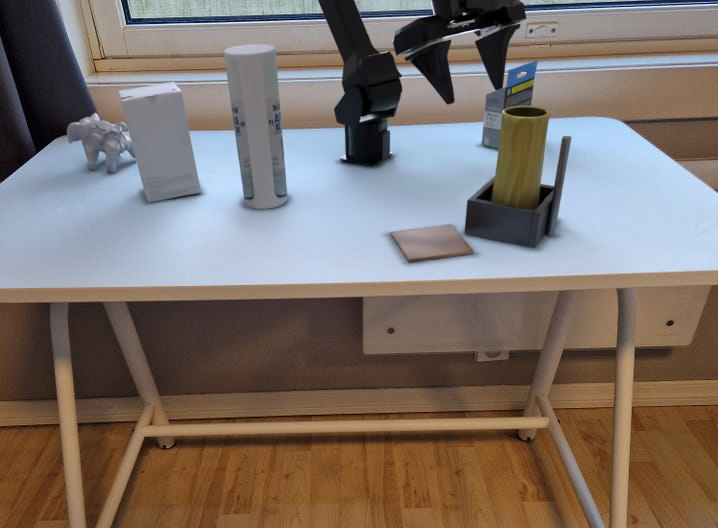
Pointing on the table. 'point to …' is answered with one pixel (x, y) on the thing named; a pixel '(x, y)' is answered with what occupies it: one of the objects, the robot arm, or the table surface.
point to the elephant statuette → (100, 140)
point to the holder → (518, 211)
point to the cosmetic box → (161, 140)
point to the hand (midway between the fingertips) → (475, 96)
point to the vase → (520, 156)
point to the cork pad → (431, 243)
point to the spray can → (257, 123)
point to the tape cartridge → (507, 101)
